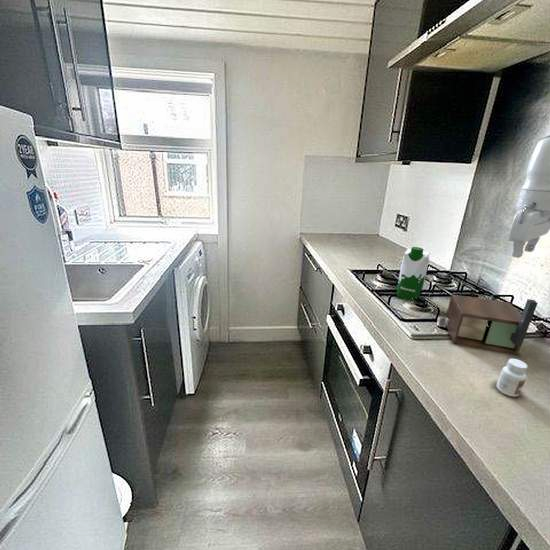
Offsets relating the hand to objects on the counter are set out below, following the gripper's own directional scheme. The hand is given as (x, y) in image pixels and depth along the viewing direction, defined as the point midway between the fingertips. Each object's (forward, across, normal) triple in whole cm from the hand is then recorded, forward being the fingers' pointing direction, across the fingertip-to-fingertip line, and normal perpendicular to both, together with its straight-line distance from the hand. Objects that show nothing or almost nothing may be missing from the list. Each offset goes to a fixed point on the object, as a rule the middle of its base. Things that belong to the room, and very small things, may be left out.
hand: (522, 254), depth 82 cm
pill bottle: (+27, -23, -10) cm, 37 cm away
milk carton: (+26, +5, +32) cm, 42 cm away
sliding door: (+25, -7, -3) cm, 27 cm away
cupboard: (+27, -3, +4) cm, 27 cm away
